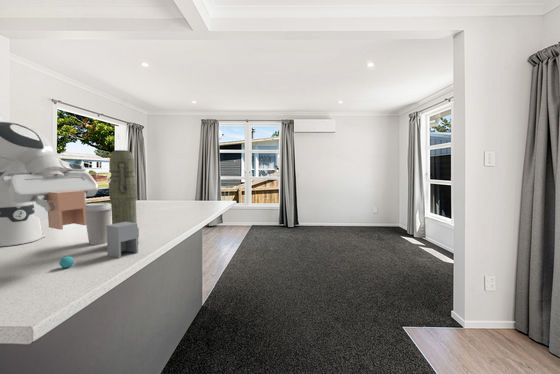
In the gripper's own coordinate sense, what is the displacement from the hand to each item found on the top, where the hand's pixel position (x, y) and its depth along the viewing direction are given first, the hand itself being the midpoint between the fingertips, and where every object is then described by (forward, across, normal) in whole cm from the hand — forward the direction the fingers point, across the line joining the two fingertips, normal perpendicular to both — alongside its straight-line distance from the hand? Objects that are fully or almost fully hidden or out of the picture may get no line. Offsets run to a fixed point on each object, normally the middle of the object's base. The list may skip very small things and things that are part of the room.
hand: (67, 207), depth 75 cm
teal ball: (+11, -1, +12) cm, 16 cm away
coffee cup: (-2, +18, +27) cm, 33 cm away
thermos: (+7, +21, +18) cm, 29 cm away
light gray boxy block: (+13, +14, +11) cm, 22 cm away
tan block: (+3, 0, +4) cm, 5 cm away
